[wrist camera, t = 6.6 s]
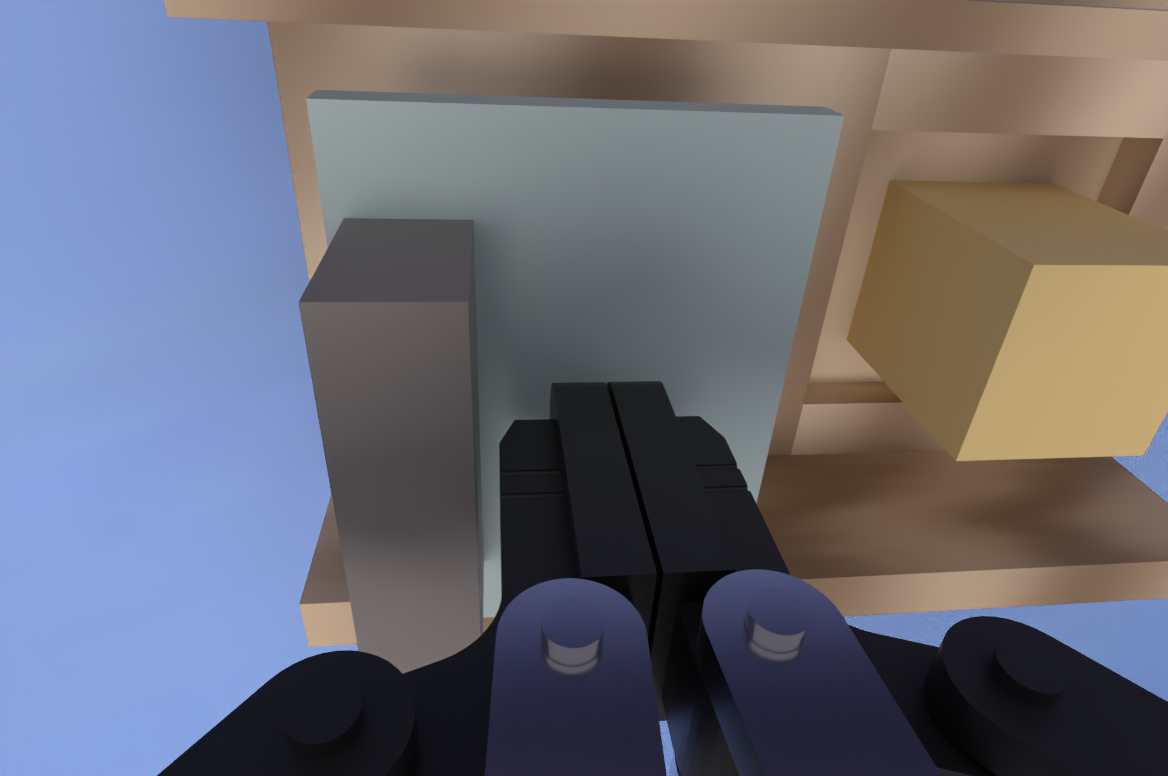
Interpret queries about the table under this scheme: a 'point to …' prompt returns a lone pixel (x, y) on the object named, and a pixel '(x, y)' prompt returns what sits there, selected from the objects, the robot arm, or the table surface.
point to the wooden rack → (823, 242)
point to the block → (1018, 319)
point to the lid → (533, 307)
